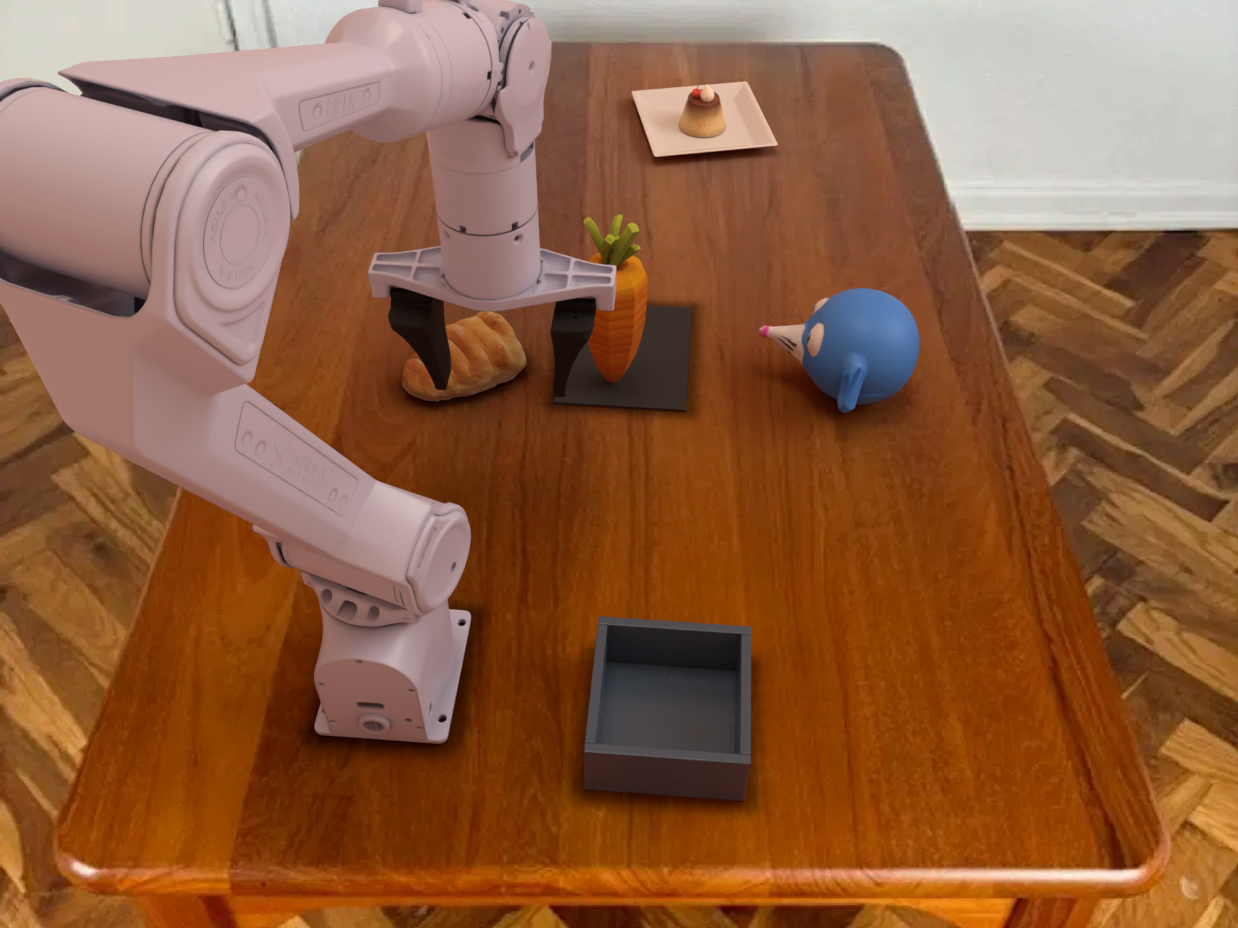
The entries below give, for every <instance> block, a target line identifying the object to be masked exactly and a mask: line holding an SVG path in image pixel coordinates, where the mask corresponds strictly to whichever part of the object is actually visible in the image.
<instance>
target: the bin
mask: <svg viewBox="0 0 1238 928" xmlns="http://www.w3.org/2000/svg"><path fill="white" fill-rule="evenodd" d="M597 618H598V619H597V627H596V636H595V643H594V644H595V645H594V655H593V663H592V673H591V682H590V690H589V698H588V700H589V701H588V709H587V719H586V727H585V737H584V746H583V770H584V771H583V772H584V790H591V791H600V792H601V791H602V792H614V793H615V792H616V793H628V794H629V793H631V794H641V795H642V794H643V795H656V796H667V797H668V796H670V797H682V798H696V799H710V800H720V801H721V800H722V801H735V802H736V801H737V802H745V800H746V799H745V798H746V793H747V788H748V787H747V786H748V782H749V776H750V772H751V771H750V770H751V765H752V627H751V626H748V625H747V626H746V625H745V626H744V625H734V624H733V625H732V624H731V625H730V624H716V623H702V622H687V621H672V620H658V619H646V618H645V619H644V618H643V619H642V618H629V617H615V616H614V617H613V616H601V615H600V616H598V617H597Z"/></svg>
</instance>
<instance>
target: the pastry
mask: <svg viewBox="0 0 1238 928" xmlns="http://www.w3.org/2000/svg"><path fill="white" fill-rule="evenodd" d="M445 327H446V332H447V338H448V343H449V348H450V354H451V373H450V377H449V380H448V384H447V388H446V390H437V389H436V388H435V386H434V383H433V381H432V379H431V377H430V375H429V373H428V371H427V369H426V367H425V366H424V364H423V362H422V361H421V359H420V358H419V356H418V355H417V353H416V352H414V353H413V354H411V356H410V358H409V359H408V360H407V361H406V362H405V363H404V364H403V367H402V379H401V385H402V387H403V389H404V390H405V391H406V392H407V393H408V394H409V395H411V396H413V397H415V398H418V399H420V400H423V401H427V402H436V403H438V402H440V401H449V400H451V399H453V398H459V397H464V398H467V397H469V396H474V395H476V394H477V393H482V392H485V391H487V390H489V389H492V388H495V387H496V386H497V385H499V384H502V383H507V382H509V381H512V380H513V379H514V378H516V377H517V375H518V374H520V373H521V371H522V370H523V369H524V368H525V367H526V366H527V356H526V353H525V351H524V349H523V346H522V344H521V342H520V341H519V340H518V338H517V336H516V333H515V331H514V329H513V326H511V325H510V324H509V322H508V321H507V320H506V319H505V318H504V317H503V315H501V314H500V313H497V312H486V311H479V312H477V314H475V315H473V316H470V317H466V318H462V319H459V320H457V321H455V322H454V323H449V324H445Z"/></svg>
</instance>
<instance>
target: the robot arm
mask: <svg viewBox="0 0 1238 928" xmlns="http://www.w3.org/2000/svg"><path fill="white" fill-rule="evenodd" d="M377 2H378V3H377V6H372V7H365V8H359V9H356V10H354V11H351V12H349V13H347V14H345V15H344V16H343V17H342V18H340V19H339V20H338V21H337V22H336V23H335V24H334V26H332V29H331V30H330V31H329V33H328V35H327V36H326V39H325V42H324V43H315V44H305V45H293V46H281V47H279V46H278V47H268V48H258V49H246V50H234V51H224V52H222V51H221V52H210V53H201V54H199V53H198V54H188V55H174V56H161V57H159V56H158V57H144V58H143V57H142V58H128V59H125V58H124V59H112V60H111V59H109V60H96V61H95V60H94V61H84V62H80V63H77V64H74V65H71V66H69V67H66V68H63V69H61V70H58V71H57V75H58V76H61V77H62V78H64V79H66V80H67V81H69V82H71V84H72V85H74V86H75V87H77V88H78V90H79V91H80V92H81V94H80V95H78V94H74V93H70V92H68V91H66V90H64V89H63V88H61V87H60V86H57V85H55V84H54V83H51V82H50V81H45V80H41V79H37V78H32V77H15V78H11V79H5V80H3V81H0V305H1V307H2V308H3V310H4V311H5V313H6V315H7V317H8V319H9V321H10V323H11V324H12V327H13V328H14V330H15V332H16V334H17V336H18V338H19V340H20V342H21V344H22V345H23V347H24V350H25V351H26V353H27V355H28V357H29V359H30V361H31V362H32V365H33V366H34V369H35V370H36V372H37V374H38V376H39V378H40V379H41V381H42V383H43V385H44V387H45V389H46V391H47V393H48V394H49V397H50V399H51V400H52V402H53V404H54V406H55V408H56V410H57V412H58V414H59V416H60V417H61V418H62V420H63V422H64V424H66V425H67V426H68V427H69V428H70V429H71V430H73V431H74V432H75V434H77V435H79V437H80V436H81V437H82V438H84V439H86V440H87V441H90V442H92V443H94V444H96V445H98V446H100V447H101V448H104V449H106V450H107V451H110V452H111V453H114V454H115V455H117V456H119V457H122V458H123V459H125V460H127V461H129V462H131V463H133V464H135V465H137V466H139V467H141V468H143V469H144V470H146V471H148V472H150V473H152V474H154V475H156V476H158V477H160V478H162V479H164V480H166V481H168V482H170V483H172V484H174V485H176V486H178V487H180V488H181V489H183V490H186V491H188V492H190V493H191V494H193V495H195V496H197V497H199V498H200V499H203V500H205V501H207V502H209V503H211V504H213V505H215V506H217V507H219V508H221V509H222V510H224V511H226V512H229V513H231V514H232V515H234V516H236V517H238V518H240V519H242V520H244V521H246V522H248V523H249V524H252V531H253V532H254V533H255V534H258V535H259V536H261V537H262V538H264V539H265V541H266V543H267V545H268V548H269V551H270V554H271V556H272V558H273V559H274V561H275V562H276V563H277V564H278V565H280V566H281V567H282V566H283V567H285V568H287V569H298V570H299V572H300V576H301V580H302V583H303V584H304V585H306V586H308V587H310V588H311V589H312V590H313V592H314V593H315V594H316V596H317V600H318V604H319V609H320V613H321V619H322V620H321V622H322V635H321V643H320V648H319V653H318V657H317V660H316V664H315V667H314V671H313V682H314V683H313V684H314V686H315V689H316V692H317V695H318V698H319V701H320V705H319V706H318V707H319V708H318V711H317V715H316V717H315V721H314V725H313V726H314V727H313V728H314V731H315V733H316V734H317V735H319V736H329V737H330V736H331V737H340V738H342V737H343V738H356V739H366V740H367V739H368V740H369V739H371V740H383V741H395V742H396V741H397V742H407V743H408V742H409V743H410V742H411V743H422V744H423V743H424V744H434V745H435V744H436V745H437V744H438V745H439V744H443V743H445V742H446V741H447V740H448V738H449V734H450V729H451V724H452V719H453V715H454V714H453V713H454V709H455V704H456V698H457V694H458V689H459V684H460V678H461V673H462V669H463V664H464V658H465V653H466V648H467V643H468V639H469V638H468V637H469V632H470V630H471V629H470V628H471V624H472V615H471V612H470V611H468V610H465V609H453V608H452V609H451V608H450V607H449V606H450V605H449V598H450V597H451V595H452V594H453V592H454V591H455V590H456V588H457V586H458V584H459V581H460V580H461V578H462V576H463V573H464V570H465V567H466V564H467V561H468V558H469V553H470V547H471V541H472V540H471V539H472V531H471V527H470V523H469V519H468V516H467V512H466V511H465V509H464V508H463V507H462V506H461V505H459V504H456V503H453V502H450V501H448V502H441V501H439V500H436V499H432V498H430V497H426V496H423V495H421V494H417V493H416V492H415V493H414V492H412V491H409V490H406V489H403V488H400V487H397V486H395V485H391V484H388V483H385V482H382V481H379V480H378V479H375V478H374V477H372V475H369V474H368V473H367V472H366V471H364V470H363V469H362V468H361V467H359V466H358V465H356V464H355V463H353V462H352V461H350V460H349V459H348V458H347V457H346V456H344V455H343V454H341V453H340V452H339V451H337V450H336V449H335V448H333V447H332V446H331V445H329V444H328V443H326V442H325V441H324V440H322V439H321V438H319V437H318V436H317V435H315V434H314V433H313V432H311V431H310V430H309V429H307V428H306V427H305V426H303V425H302V424H301V423H299V422H298V421H297V420H296V419H294V418H292V416H290V415H289V414H287V413H286V412H285V411H283V410H282V409H280V408H279V407H278V406H276V405H275V404H274V403H273V402H271V401H270V400H268V399H267V398H266V397H264V396H263V395H261V394H260V393H259V392H258V391H256V390H255V389H254V388H252V387H251V386H250V385H248V384H249V383H251V382H252V381H253V380H254V379H255V375H256V372H257V367H258V363H259V358H260V354H261V350H262V346H263V343H264V339H265V335H266V331H267V327H268V326H267V325H268V322H269V318H270V313H271V309H272V305H273V301H274V297H275V292H276V287H277V284H278V279H279V275H280V270H281V266H282V263H283V258H284V256H285V253H286V250H287V246H288V242H289V241H288V240H289V236H290V229H291V228H290V227H291V223H292V222H294V221H295V220H296V218H297V217H298V216H299V213H300V179H299V173H298V172H299V171H298V164H297V158H296V155H295V153H297V152H300V151H302V150H305V149H307V148H309V147H311V146H314V145H316V144H319V143H321V142H325V141H326V140H329V139H331V138H334V137H336V136H339V135H341V134H343V133H345V132H348V131H352V132H353V133H354V134H356V135H357V136H360V138H361V137H362V138H363V139H366V140H368V141H371V142H375V143H379V144H380V143H382V144H390V143H397V142H400V141H403V140H406V139H410V138H413V137H417V136H419V135H422V134H426V140H427V147H428V148H427V149H428V155H429V165H430V173H431V180H432V187H433V188H432V189H433V196H434V204H435V213H436V214H435V215H436V220H437V221H436V222H437V229H438V237H439V244H440V245H437V246H430V247H425V248H424V247H423V248H418V249H412V250H406V251H396V252H395V251H393V252H374V253H373V256H372V259H371V262H370V265H369V268H368V270H367V276H368V282H369V287H370V294H371V297H372V298H374V299H388V298H390V302H389V303H390V307H389V310H388V314H387V319H388V323H389V326H390V328H391V330H392V331H393V332H394V333H396V334H398V336H400V337H401V339H404V341H405V342H406V343H407V344H408V345H409V346H410V347H411V348H412V350H413V351H414V353H417V355H418V356H419V358H420V359H421V361H422V362H423V364H424V366H425V367H426V369H427V371H428V373H429V375H430V377H431V379H432V381H433V383H434V386H435V388H436V389H437V390H446V388H447V384H448V380H449V377H450V373H451V354H450V348H449V343H448V338H447V332H446V327H445V326H446V319H445V302H446V303H448V304H449V303H450V304H453V305H455V306H458V307H461V308H466V309H469V310H472V311H479V312H483V311H486V312H494V313H496V312H503V311H509V310H515V309H521V308H526V307H527V308H528V307H532V306H538V305H539V306H540V305H544V304H545V305H546V304H550V303H555V305H554V309H553V313H552V314H553V315H552V320H551V325H550V338H551V343H552V350H553V358H554V360H553V361H554V373H553V395H554V398H555V397H565V396H566V391H567V384H568V378H569V374H570V371H571V369H572V366H573V364H574V362H575V360H576V358H577V356H578V354H579V353H580V351H581V350H582V348H583V347H584V345H585V344H586V343H587V342H588V341H589V338H590V336H591V334H592V331H593V328H594V322H595V315H596V309H598V310H603V311H613V310H614V304H615V296H616V266H615V265H603V264H597V263H592V262H588V260H583V259H580V258H576V257H573V256H570V255H567V254H564V253H563V254H562V253H559V252H556V251H552V250H550V249H546V248H542V247H541V242H540V239H541V238H540V222H539V221H540V220H539V200H538V180H537V160H536V139H537V138H538V136H539V135H540V134H541V133H542V129H543V122H544V120H545V113H544V101H545V100H544V98H545V91H546V87H547V82H548V79H549V73H550V68H551V63H552V45H553V43H552V40H553V39H552V38H549V33H548V30H547V26H546V24H545V23H544V22H543V21H542V20H541V19H539V18H537V17H536V15H535V13H534V12H532V11H531V7H529V6H528V5H526V4H524V3H519V2H513V1H510V0H378V1H377ZM460 624H464V625H460ZM441 719H445V720H444V721H442V722H441V721H440V720H441Z"/></svg>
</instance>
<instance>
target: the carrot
mask: <svg viewBox="0 0 1238 928" xmlns="http://www.w3.org/2000/svg"><path fill="white" fill-rule="evenodd" d="M623 219H624V215H623V214H619V213H618V214H615V215H614V216H613V219H612V221H611V222H612V223H611V228H610V232H609V234H607V235H606V236H605V238H604V240H603V237H602V236H601V233H600V230H599V227H598V226H597V224H596V223H595V221H594V219H592V218H591V217H590V216H588V217H586V218H584V220H583V221H582V222H583V224H584V227H585V228H586V230H587V231H588V233H589V235H590V237H591V239H592V241H593V243H594V245H595V246H596V249H597V251H598V252H596V253H595V254H593V255H592V256H591V257H590V258H589V259H588V260H587V261H588V262H592V263H597V264H603V265H615V266H616V296H615V304H614V310H613V311H603V310H598V309H596V315H595V322H594V328H593V331H592V334H591V336H590V338H589V341H588V344H589V348H590V351H591V353H592V356H593V359H594V361H595V363H596V365H597V367H598V369H599V371H600V372H601V374H602V375H603V376H604V378H605V379H606V380H607V381H609V382H611V383H615V382H618V381H619V380H620V379H621V377H622V376H623V375H624V373H625V372H626V370H627V369H628V368H629V366H630V365H631V363H632V361H633V359H634V357H635V355H636V353H637V350H638V347H639V344H640V340H641V337H642V333H643V329H644V325H645V316H646V307H647V306H648V292H649V290H648V289H649V278H648V276H647V273H646V271H645V269H644V266H643V263H642V261H641V260H640V258H638V257H637V256H635V254H636V253H638V252H639V251H641V246H640V245H638V244H633V242H635V239H636V238H637V236H638V234H639V233H640V228H639V226H638V225H637V223H635V222H630V223H628V224H626V226H625V228H624V229H623V231H622V232H621V233H620V230H621V226H622V223H623V222H622V221H623ZM619 233H620V236H619Z"/></svg>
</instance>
